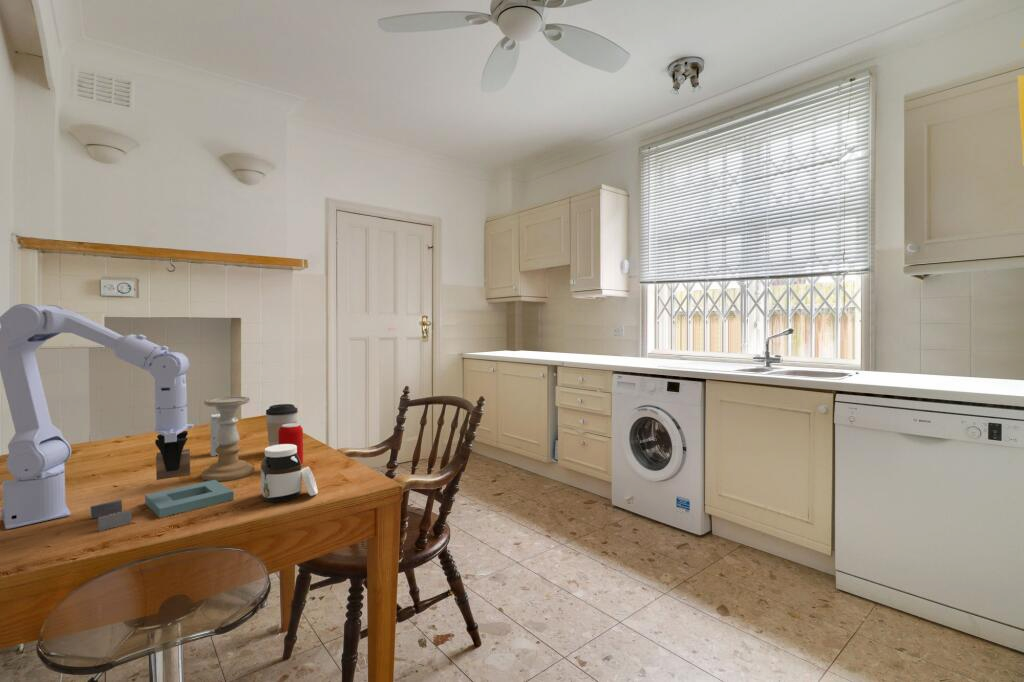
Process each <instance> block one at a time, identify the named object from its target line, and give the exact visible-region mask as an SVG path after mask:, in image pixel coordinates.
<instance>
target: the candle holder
mask: <svg viewBox="0 0 1024 682" xmlns="http://www.w3.org/2000/svg"><path fill="white" fill-rule="evenodd" d="M249 402H250V398H249V396H248V397H247V396H240V395H239V396H235V395H234V396H219V397H213V398H208V399H206V400H205V399H204V402H203V405H205V406H207V407H211V408H212V407H213V408H215V410H216V411H217V412H219V413H218V414H220V418H219V419H218V420H217V424H219V431H218V435H217V438H216V442H217V444H219V446H218V447H217V448H216V450H215V452H216V453H217V454H219V455H217V456H218V458H217V462H215V463H213V464H211V465H210V466H209V467H207V468H205V469H204V470H202V472H201V473H200V476H201V479H202V480H204V481H205V482H207V481H211V480H216V481H218V482H226V481H227V480H228V481H233V480H237V479H238V480H239V479H243V478H245V477H248V476H250V475H252V474H253V473H254V472H255V466H254V464H253V463H249V462H247V461H246V460H243V459H239V453H238V452H240V450H242V449H241V448H242V447H241V446H240V445H239V442H240V438H241V437H240V434H239V431H238V428H237V423H238V422H239V419H238V417H236V411H237V410H238V409H239V406H242V405H246V404H248V403H249Z"/></svg>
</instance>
